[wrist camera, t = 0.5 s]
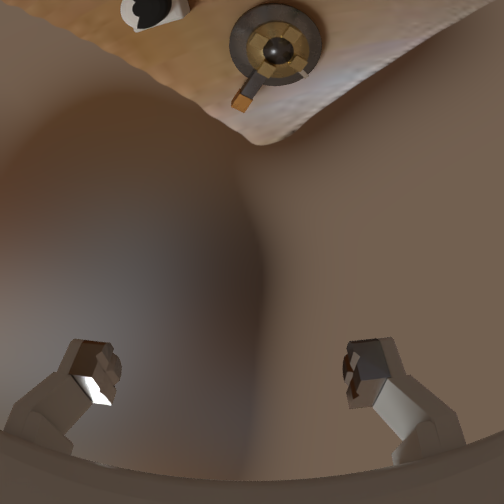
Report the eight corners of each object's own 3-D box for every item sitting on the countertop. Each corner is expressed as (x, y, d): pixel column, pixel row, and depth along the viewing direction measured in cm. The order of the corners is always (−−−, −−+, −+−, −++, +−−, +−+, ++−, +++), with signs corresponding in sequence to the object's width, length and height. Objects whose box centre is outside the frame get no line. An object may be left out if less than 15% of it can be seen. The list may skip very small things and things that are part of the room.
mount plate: (259, -12, 35) (260, -11, 33) (335, 33, 41) (340, 37, 39) (213, 57, 44) (212, 62, 42) (287, 94, 50) (289, 101, 48)
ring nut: (266, 9, 36) (268, 12, 33) (317, 40, 39) (323, 45, 37) (213, 91, 46) (211, 100, 44) (261, 114, 50) (262, 125, 48)
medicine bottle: (180, -27, 32) (163, -26, 24) (190, 12, 37) (177, 24, 30) (135, -13, 33) (107, -6, 25) (147, 24, 38) (123, 41, 31)
